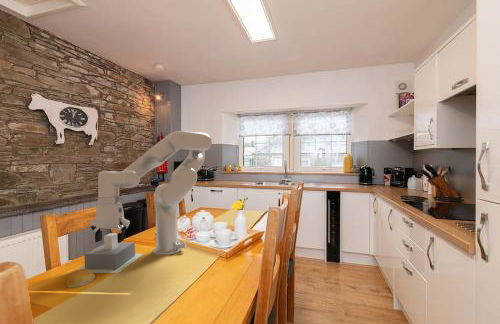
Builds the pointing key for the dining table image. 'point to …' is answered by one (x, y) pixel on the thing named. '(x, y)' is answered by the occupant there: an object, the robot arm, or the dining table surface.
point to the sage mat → (116, 269)
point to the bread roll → (80, 278)
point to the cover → (109, 254)
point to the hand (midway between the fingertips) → (109, 241)
